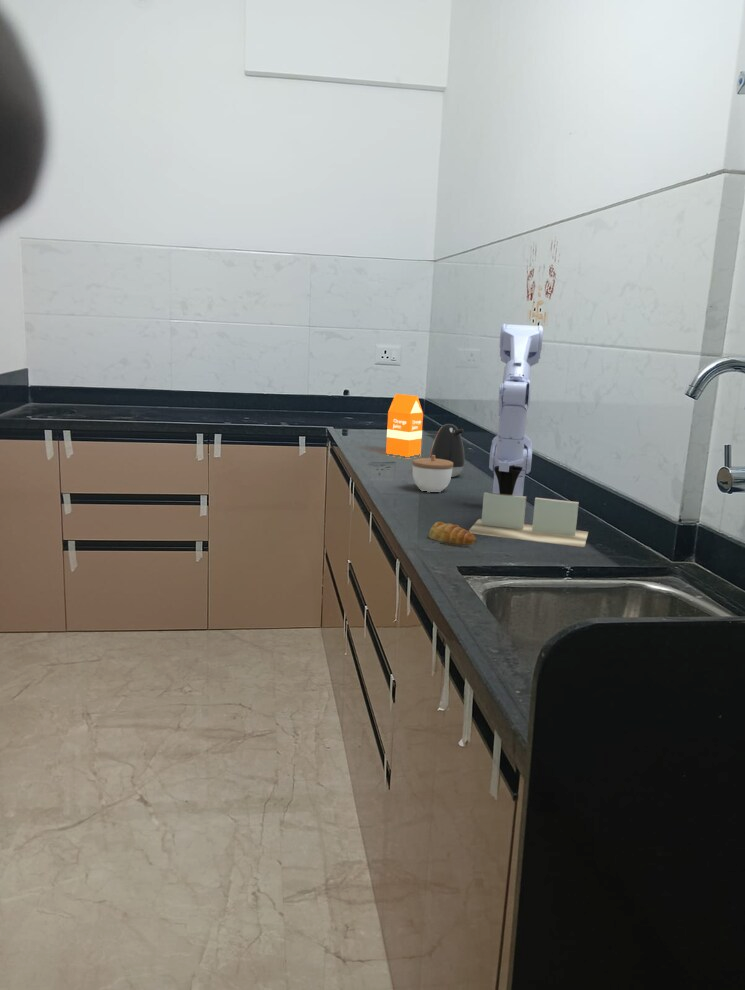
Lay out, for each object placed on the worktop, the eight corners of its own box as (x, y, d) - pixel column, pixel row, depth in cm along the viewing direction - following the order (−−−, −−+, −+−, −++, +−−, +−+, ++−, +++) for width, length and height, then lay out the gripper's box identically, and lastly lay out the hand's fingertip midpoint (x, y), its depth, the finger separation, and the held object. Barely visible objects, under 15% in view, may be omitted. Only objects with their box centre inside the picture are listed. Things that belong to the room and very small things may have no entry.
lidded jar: (448, 496, 213) (451, 460, 211) (407, 492, 215) (409, 456, 213) (453, 488, 223) (456, 454, 221) (414, 484, 225) (416, 450, 223)
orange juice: (398, 452, 280) (402, 393, 276) (420, 456, 275) (424, 395, 271) (385, 455, 273) (388, 394, 269) (407, 458, 268) (411, 396, 264)
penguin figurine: (447, 480, 234) (450, 426, 231) (421, 474, 241) (424, 422, 238) (471, 477, 240) (475, 425, 237) (445, 471, 248) (449, 420, 245)
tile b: (532, 529, 180) (535, 497, 178) (575, 534, 177) (578, 502, 176) (532, 530, 178) (535, 498, 177) (574, 535, 176) (578, 503, 174)
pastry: (481, 544, 168) (483, 526, 167) (465, 551, 163) (466, 532, 162) (441, 536, 173) (442, 518, 172) (424, 542, 168) (425, 524, 167)
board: (478, 521, 187) (478, 518, 187) (588, 534, 180) (588, 531, 180) (466, 535, 174) (466, 532, 174) (584, 550, 167) (584, 547, 167)
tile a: (482, 523, 183) (484, 492, 181) (523, 528, 180) (526, 496, 179) (481, 524, 181) (483, 493, 180) (522, 529, 179) (525, 497, 177)
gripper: (497, 432, 186) (492, 491, 189) (486, 439, 173) (481, 503, 175) (529, 435, 184) (524, 495, 187) (520, 442, 171) (515, 507, 173)
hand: (505, 499), depth 181 cm, fingers closed
